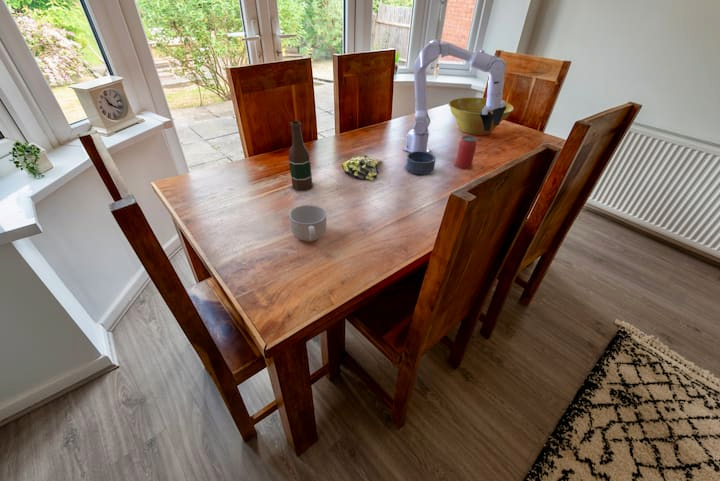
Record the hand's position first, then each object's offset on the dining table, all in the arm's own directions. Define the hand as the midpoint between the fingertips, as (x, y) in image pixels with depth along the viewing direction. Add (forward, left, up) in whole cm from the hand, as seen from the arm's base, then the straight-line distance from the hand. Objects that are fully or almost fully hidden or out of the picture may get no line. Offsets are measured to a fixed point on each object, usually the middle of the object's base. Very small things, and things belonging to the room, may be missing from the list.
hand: (491, 127), depth 135 cm
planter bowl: (-22, +30, -14) cm, 40 cm away
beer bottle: (-36, -73, -14) cm, 82 cm away
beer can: (-3, -13, -14) cm, 19 cm away
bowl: (-14, -29, -14) cm, 35 cm away
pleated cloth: (-30, -45, -14) cm, 56 cm away
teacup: (-8, -91, -14) cm, 92 cm away
